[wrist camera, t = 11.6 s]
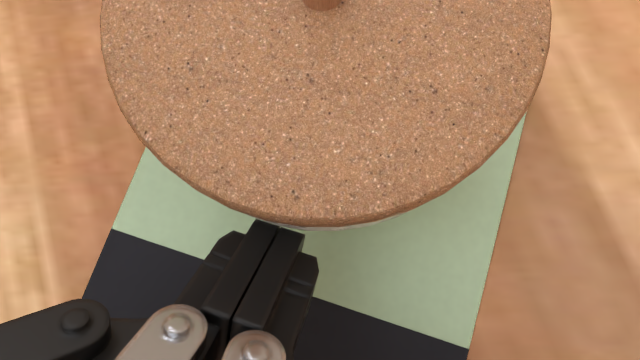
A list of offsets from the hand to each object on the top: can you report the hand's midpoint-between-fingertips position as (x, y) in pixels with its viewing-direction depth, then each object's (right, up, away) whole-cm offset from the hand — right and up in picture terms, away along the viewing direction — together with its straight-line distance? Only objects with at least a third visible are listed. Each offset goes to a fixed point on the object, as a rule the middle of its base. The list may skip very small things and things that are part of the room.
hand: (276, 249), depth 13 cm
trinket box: (+2, +5, +5) cm, 7 cm away
